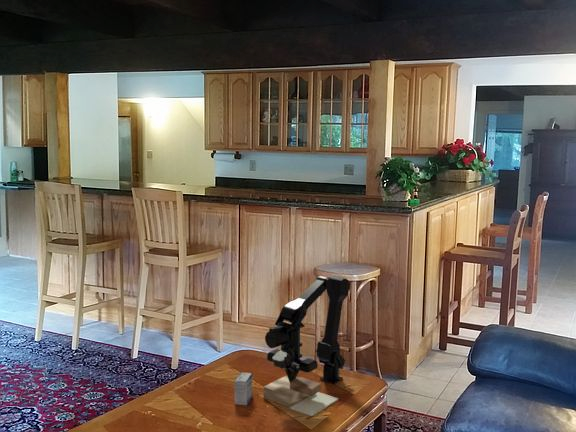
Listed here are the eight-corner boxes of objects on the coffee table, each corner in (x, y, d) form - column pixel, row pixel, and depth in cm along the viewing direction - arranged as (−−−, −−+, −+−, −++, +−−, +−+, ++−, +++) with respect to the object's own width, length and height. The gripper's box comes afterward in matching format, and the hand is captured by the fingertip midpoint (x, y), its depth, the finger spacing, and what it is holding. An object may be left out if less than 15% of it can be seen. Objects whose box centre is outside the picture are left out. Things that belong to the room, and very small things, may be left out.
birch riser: (288, 384, 224) (288, 374, 223) (314, 393, 216) (314, 382, 216) (263, 397, 213) (263, 386, 212) (290, 407, 206) (290, 395, 205)
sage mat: (317, 393, 217) (317, 391, 217) (338, 399, 211) (338, 398, 211) (290, 408, 204) (290, 407, 204) (311, 416, 199) (311, 414, 199)
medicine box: (246, 405, 206) (246, 381, 205) (234, 404, 207) (234, 380, 206) (252, 396, 214) (252, 372, 213) (240, 395, 215) (240, 371, 214)
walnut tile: (289, 388, 210) (290, 382, 210) (299, 383, 215) (299, 376, 215) (311, 396, 205) (312, 389, 205) (320, 390, 210) (321, 383, 210)
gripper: (256, 341, 211) (256, 383, 213) (299, 353, 199) (298, 398, 201) (277, 333, 219) (276, 374, 221) (318, 344, 208) (318, 387, 210)
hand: (291, 383), depth 213 cm, fingers closed
